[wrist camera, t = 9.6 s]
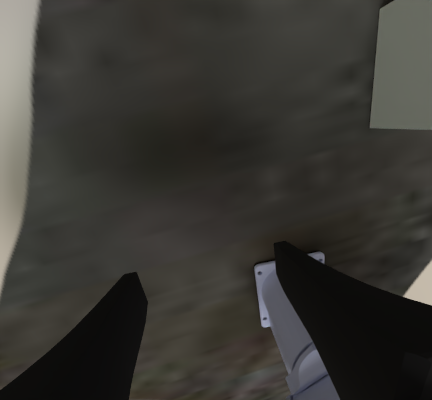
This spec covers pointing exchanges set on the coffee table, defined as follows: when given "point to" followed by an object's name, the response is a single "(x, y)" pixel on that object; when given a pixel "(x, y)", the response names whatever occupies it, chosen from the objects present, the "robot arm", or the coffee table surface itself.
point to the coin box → (403, 67)
